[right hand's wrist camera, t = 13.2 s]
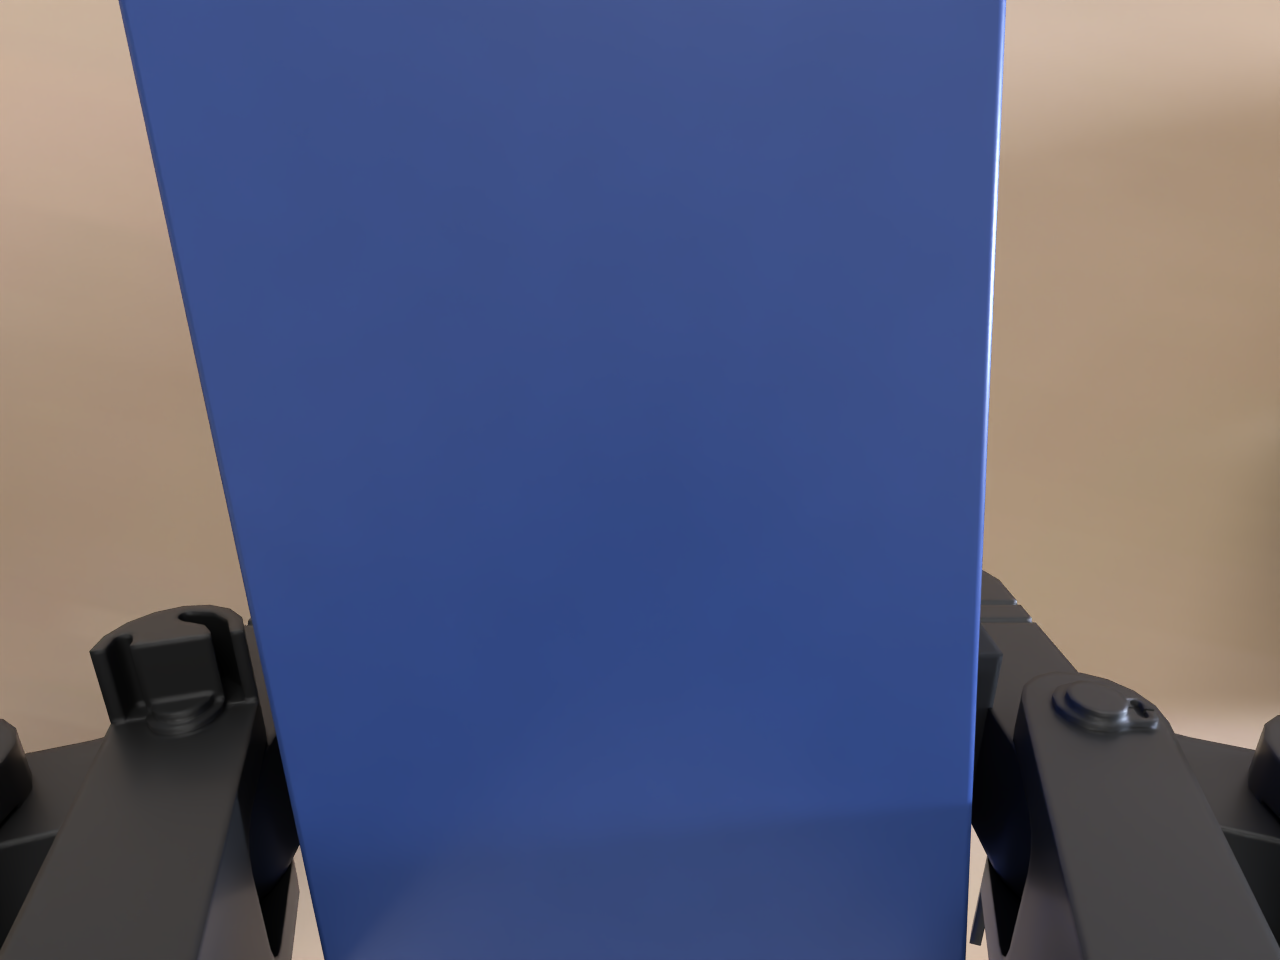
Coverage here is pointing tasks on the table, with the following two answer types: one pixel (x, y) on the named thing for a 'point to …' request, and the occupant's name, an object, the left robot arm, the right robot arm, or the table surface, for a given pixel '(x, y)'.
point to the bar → (601, 454)
